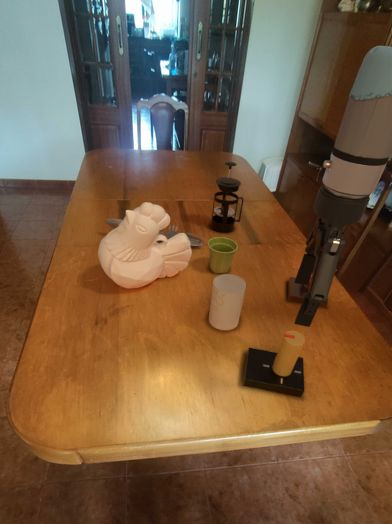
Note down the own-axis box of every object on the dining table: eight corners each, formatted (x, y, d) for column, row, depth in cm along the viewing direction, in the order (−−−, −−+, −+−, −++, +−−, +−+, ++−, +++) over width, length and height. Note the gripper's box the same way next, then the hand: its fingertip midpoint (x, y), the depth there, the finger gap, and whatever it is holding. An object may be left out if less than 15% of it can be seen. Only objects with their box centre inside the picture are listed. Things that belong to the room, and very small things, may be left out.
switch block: (322, 288, 100) (327, 277, 97) (325, 307, 93) (330, 296, 90) (288, 282, 101) (291, 271, 98) (288, 301, 94) (291, 290, 91)
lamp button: (318, 283, 96) (320, 278, 94) (319, 289, 93) (321, 284, 92) (306, 281, 96) (308, 276, 95) (307, 287, 93) (309, 282, 92)
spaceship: (109, 208, 112) (102, 208, 104) (206, 230, 113) (205, 231, 106) (107, 231, 115) (100, 233, 108) (201, 253, 116) (200, 255, 109)
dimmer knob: (291, 363, 73) (305, 331, 66) (291, 378, 70) (306, 346, 63) (272, 360, 74) (284, 327, 66) (271, 374, 71) (284, 341, 63)
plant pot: (237, 266, 106) (242, 242, 100) (227, 280, 100) (231, 255, 93) (211, 258, 108) (214, 234, 102) (200, 271, 102) (202, 246, 96)
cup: (207, 310, 89) (211, 273, 80) (235, 310, 90) (243, 274, 81) (210, 330, 83) (215, 293, 74) (240, 330, 84) (249, 293, 75)
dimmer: (300, 364, 77) (303, 357, 75) (301, 397, 70) (304, 390, 68) (247, 354, 78) (249, 346, 76) (242, 385, 71) (245, 378, 69)
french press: (209, 232, 121) (215, 165, 105) (208, 221, 128) (214, 157, 111) (239, 234, 122) (251, 168, 105) (237, 223, 128) (247, 159, 112)
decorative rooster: (84, 275, 85) (135, 212, 69) (94, 237, 93) (141, 173, 78) (160, 314, 99) (216, 269, 83) (162, 277, 107) (213, 231, 92)
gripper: (316, 161, 56) (284, 266, 72) (325, 219, 39) (280, 341, 54) (359, 167, 55) (317, 272, 71) (388, 230, 38) (324, 350, 54)
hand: (301, 302), depth 63 cm, fingers open, 13 cm apart
